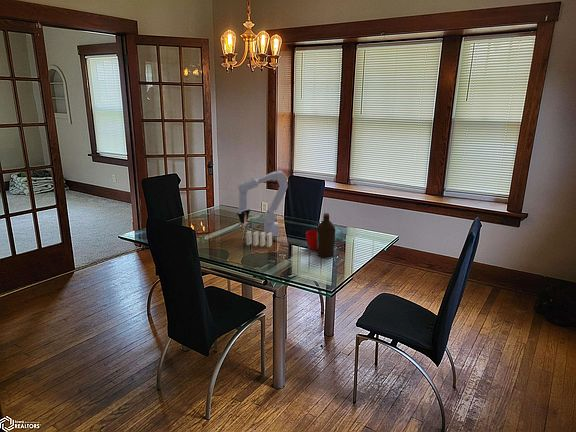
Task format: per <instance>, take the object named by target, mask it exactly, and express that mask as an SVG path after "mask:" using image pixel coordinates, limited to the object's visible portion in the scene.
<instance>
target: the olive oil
mask: <svg viewBox="0 0 576 432" xmlns="http://www.w3.org/2000/svg"><path fill="white" fill-rule="evenodd" d="M322 217H323V218H322V221H321V222H320V223H318V225H317V227H316V230H317V251H316V252H317V253H316V254H317V257H318V258H321V259H330V258H333V257H334V254H335V241H336V240H335V238H336V227H335V225H334V224H333V223H332V222H331V220H330V213H328V212H327V213H326V212H324V213H323V216H322Z"/></svg>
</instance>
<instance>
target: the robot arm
mask: <svg viewBox="0 0 576 432" xmlns="http://www.w3.org/2000/svg"><path fill="white" fill-rule="evenodd" d="M269 181H277V183H278V186H279V187H278V188H277V191H276V194H275V195H274V198H273V199H272V202H271V204H270V206H269V208H267V210H266V211H265V212H264V214H263V218H264V221H263V232H265V239H267V234H268V233H269V232H270V233H272V238H273V237H279V236H280V234H279V229H280V227H279V223H278V222H277V221H275V220H276V215H277V211H278V209H279V206H280V205H281V202H282V201H283V200H282V199H283V198H284V196H285V194H286V191H287V189H288V188H289V184H288V176H287V175H286V173H284V171H282V170H280V169H277V170H276V171H272V172H269V173H267V174H266V175H264V176H261V177H259V178H253V177H252V178H250V180H247V181H243V182H240V183H239V184H238V187H237V188H238V206H239V207H237V213H236V214H237V216H238V217H239V221H240V224H241V223H244V220H245V215H246V216H247V221H248V218H249V215H250V212H251V209H250V205H249V195H248V191H250V190H253V189H256V188H258V187H259V185H261V184H263V183H265V182H269ZM244 212H246V213H244Z"/></svg>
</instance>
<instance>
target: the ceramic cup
mask: <svg viewBox="0 0 576 432" xmlns="http://www.w3.org/2000/svg"><path fill="white" fill-rule="evenodd" d="M305 239H306V241H305V242H306V243H307V246H308V247H309V248H310V250H312V251H316V252H317V229H315V230H313V229H311V230H307V231H306V232H305Z"/></svg>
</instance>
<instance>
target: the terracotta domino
mask: <svg viewBox="0 0 576 432" xmlns="http://www.w3.org/2000/svg"><path fill="white" fill-rule="evenodd" d="M244 213H246V212H244ZM247 223H248V220H247V216H246V215H245V220H244V223H241V222H240V224H241V225H240V226H242V227H244V226H247Z"/></svg>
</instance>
